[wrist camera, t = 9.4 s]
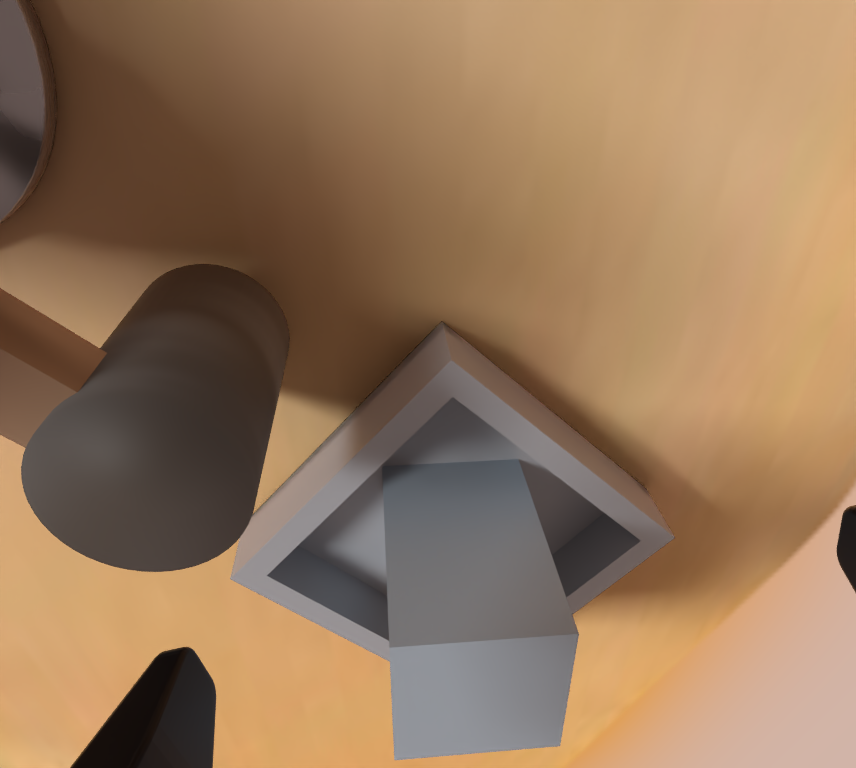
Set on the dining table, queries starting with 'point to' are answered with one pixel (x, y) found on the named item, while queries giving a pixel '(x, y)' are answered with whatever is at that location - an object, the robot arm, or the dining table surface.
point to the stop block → (472, 612)
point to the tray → (426, 444)
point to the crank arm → (147, 418)
